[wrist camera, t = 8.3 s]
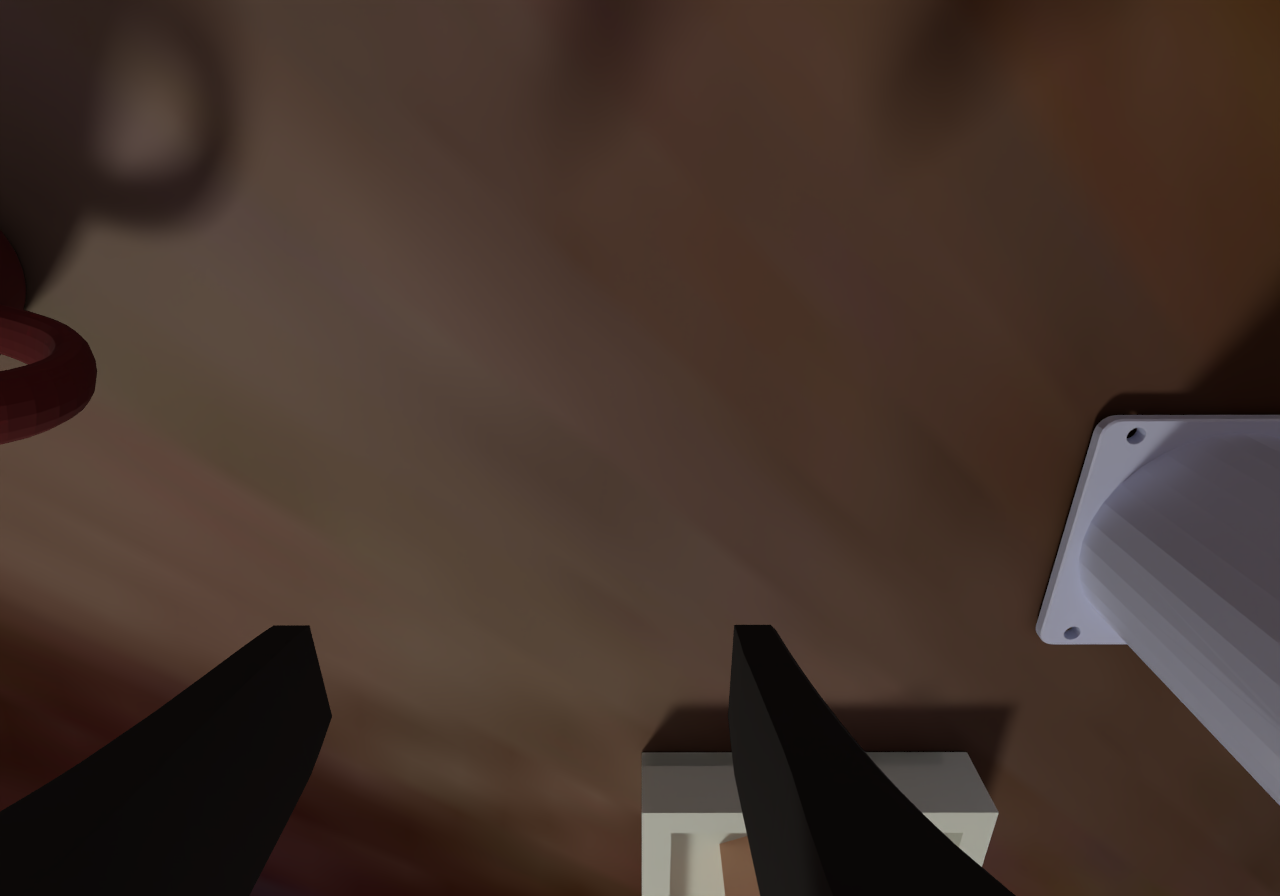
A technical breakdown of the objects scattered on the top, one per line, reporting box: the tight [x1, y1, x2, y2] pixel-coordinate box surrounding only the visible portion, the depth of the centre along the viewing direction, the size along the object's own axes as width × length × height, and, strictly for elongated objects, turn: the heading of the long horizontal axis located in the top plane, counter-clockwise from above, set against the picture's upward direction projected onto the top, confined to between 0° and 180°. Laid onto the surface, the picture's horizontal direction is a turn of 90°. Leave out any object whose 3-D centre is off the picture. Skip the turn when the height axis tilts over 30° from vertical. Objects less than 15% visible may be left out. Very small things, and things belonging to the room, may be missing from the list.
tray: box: [642, 752, 999, 896], centre depth 27 cm, size 12×11×2 cm
